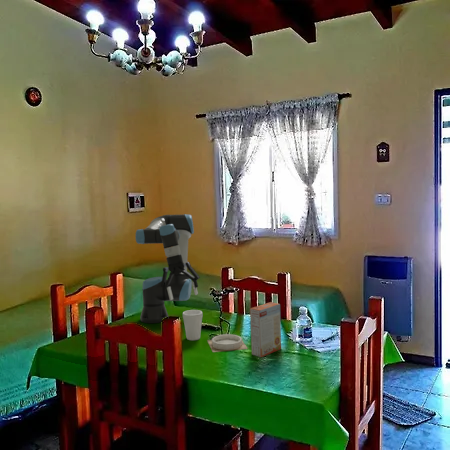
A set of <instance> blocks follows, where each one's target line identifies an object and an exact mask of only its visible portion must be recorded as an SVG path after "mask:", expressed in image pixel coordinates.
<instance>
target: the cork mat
mask: <svg viewBox="0 0 450 450" xmlns="http://www.w3.org/2000/svg"><path fill="white" fill-rule="evenodd" d="M206 341H207V343H208V345H209V347H210V349H211V351H212V353H219V352H220V353H221V352H230V351H241V350H249V347H247V345H246V344H245V343H244V341H243V340H242V345H241V347H239V348H236V349H231V350H222V349H217V348H214V347H213V346H212V339H207V340H206Z"/></svg>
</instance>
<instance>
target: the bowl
mask: <svg viewBox="0 0 450 450" xmlns="http://www.w3.org/2000/svg"><path fill="white" fill-rule="evenodd" d="M211 340H212V346H213V347H214V348H217V349H222V350H231V349H236V348H239V347H241V345H242V341H243V338H242V337H241V336H239V335H237V334H230V333H225V334H219V335H215V336H214V337H212V338H211Z"/></svg>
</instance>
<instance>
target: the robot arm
mask: <svg viewBox="0 0 450 450" xmlns="http://www.w3.org/2000/svg"><path fill="white" fill-rule="evenodd" d="M135 231H136V232H135V242H136V244H138V245H140V244H141V245H145V244H146V245H148V244H150V245H151V244H153V245H154V244H162V245H163V250H164V253H165V257H166V262H167V265H168V267H167V266H166V267H163V268H162V273H163V274H162V276H155V277H149V278H146V279H145V280H143V281H142V287H141V288H142V306H143V307H142V310H141V314H140V322H141V323H145V324H158V323H159V324H160V323H162V322H161V321H162V319H163V318H165V317H168V318H169V314H168V311H167V308H166V306H165V305H166V304H165V302H183V301H188V300H189V299H190V297H191V294H192V289H193V292H194V295H195V296H197V295H199V291H198V287H199V284H198V280H199V279H200V278H201V277H200V275H199V274H198V273H197V272H196V271H195V269H194V268H193V267H192V265H191V261H188V257H189V256H188V254H189V253H188V252H189V239H190V238H191V237H192V235H193V234H194V233H195V230H194V222H193V216H192V214H185V213H184V214H164V215H161V216H158V217H155V218H154V219H152V220H151V221H150V224H149V225H148V226H147V227H145V228H141V229H136V230H135ZM168 272H169V275H168Z"/></svg>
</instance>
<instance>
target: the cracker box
mask: <svg viewBox="0 0 450 450" xmlns="http://www.w3.org/2000/svg"><path fill="white" fill-rule="evenodd" d="M249 310H250V312H249V313H250V337H251V338H250V339H251V341H250V343H251V356H252V355H253V356H256V357H259V358H263V357H266V356H269V355H270V354H273V353H274V352H277V351H280V350H281V349H282V332H281V331H282V330H281V329H282V326H281V325H282V323H281V304H280V303H278V302H277V303H276V302H272V301H270V302H267V303H264V304H261V305H258V306H254V307H253V306H252V307H251V308H249Z"/></svg>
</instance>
